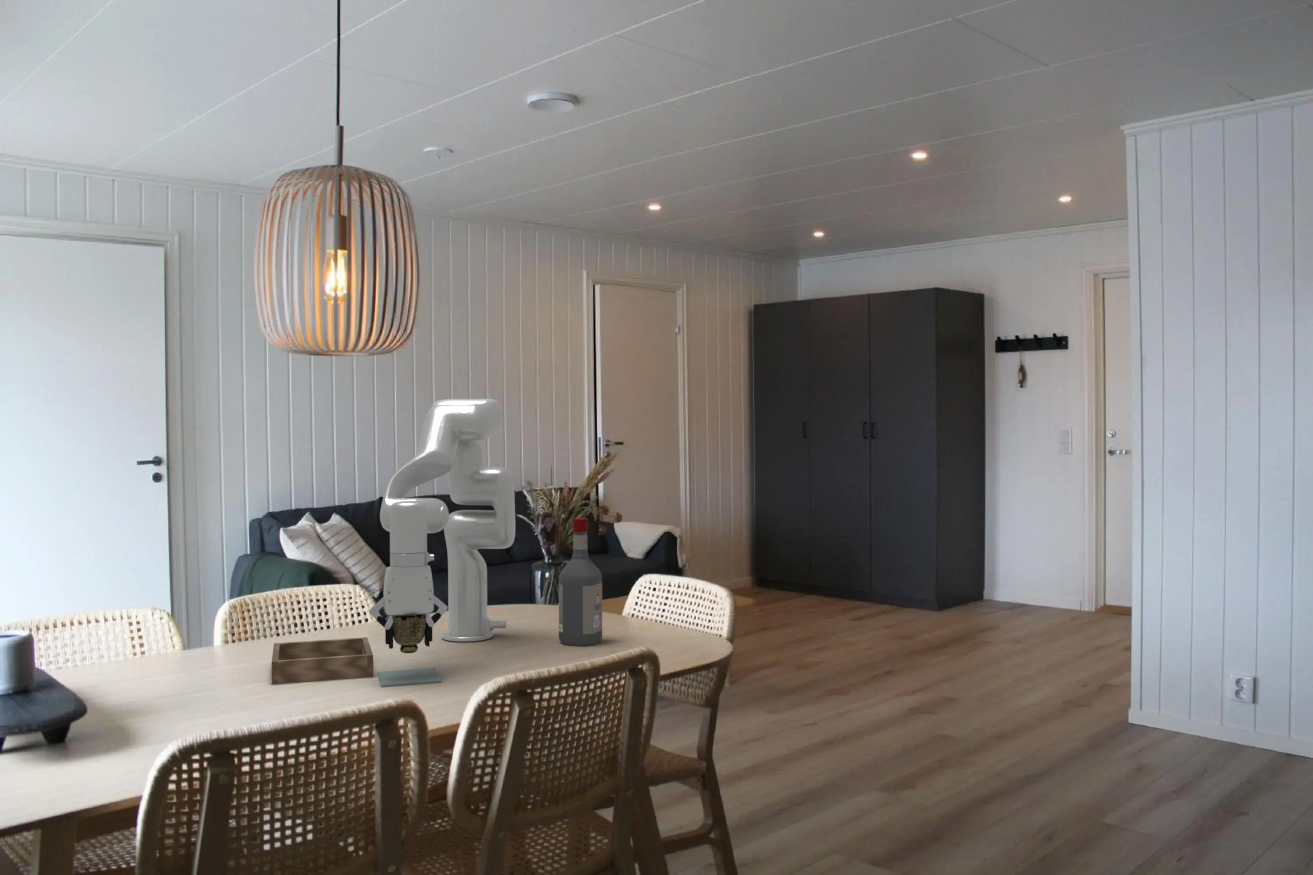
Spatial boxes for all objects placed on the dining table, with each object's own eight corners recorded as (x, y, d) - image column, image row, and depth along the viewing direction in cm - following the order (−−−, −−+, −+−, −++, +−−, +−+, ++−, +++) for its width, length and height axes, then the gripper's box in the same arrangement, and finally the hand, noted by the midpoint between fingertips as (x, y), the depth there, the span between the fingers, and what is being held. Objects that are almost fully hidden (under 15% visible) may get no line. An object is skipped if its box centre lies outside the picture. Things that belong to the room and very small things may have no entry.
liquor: (605, 639, 259) (604, 517, 259) (590, 646, 250) (590, 520, 250) (571, 637, 262) (570, 516, 262) (555, 644, 253) (555, 519, 253)
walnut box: (367, 656, 240) (367, 637, 240) (373, 676, 221) (373, 654, 221) (274, 663, 234) (273, 643, 234) (271, 684, 215) (271, 661, 215)
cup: (432, 648, 223) (431, 611, 223) (420, 656, 215) (420, 617, 215) (397, 648, 223) (397, 610, 223) (385, 655, 216) (385, 616, 216)
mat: (435, 669, 227) (435, 667, 227) (442, 682, 216) (442, 680, 216) (377, 673, 223) (377, 671, 223) (381, 686, 212) (381, 684, 212)
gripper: (448, 556, 226) (448, 640, 226) (364, 560, 220) (364, 645, 220) (453, 560, 219) (453, 646, 219) (366, 564, 213) (366, 652, 213)
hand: (409, 645), depth 219 cm, fingers closed on cup, 6 cm apart
